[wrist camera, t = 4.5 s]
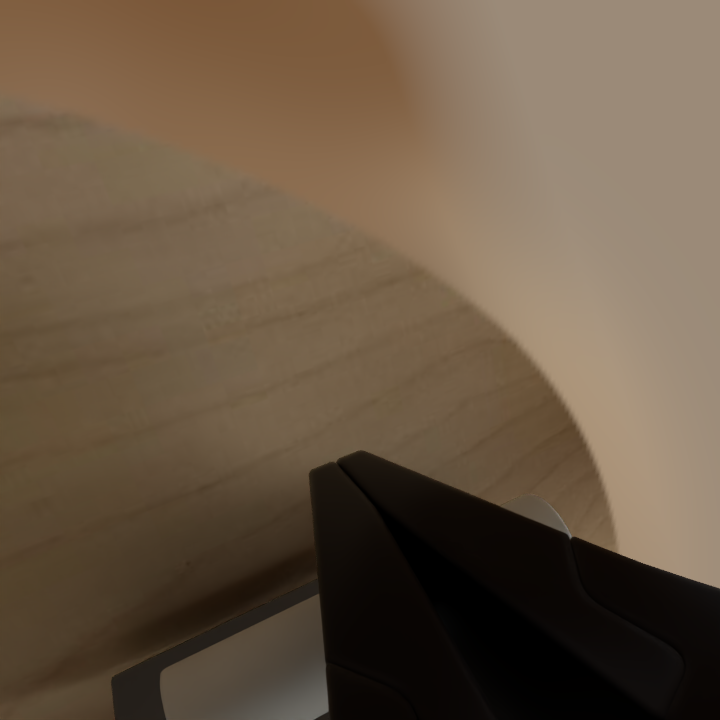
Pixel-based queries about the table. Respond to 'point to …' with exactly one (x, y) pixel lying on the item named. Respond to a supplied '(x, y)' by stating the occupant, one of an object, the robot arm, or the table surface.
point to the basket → (254, 660)
